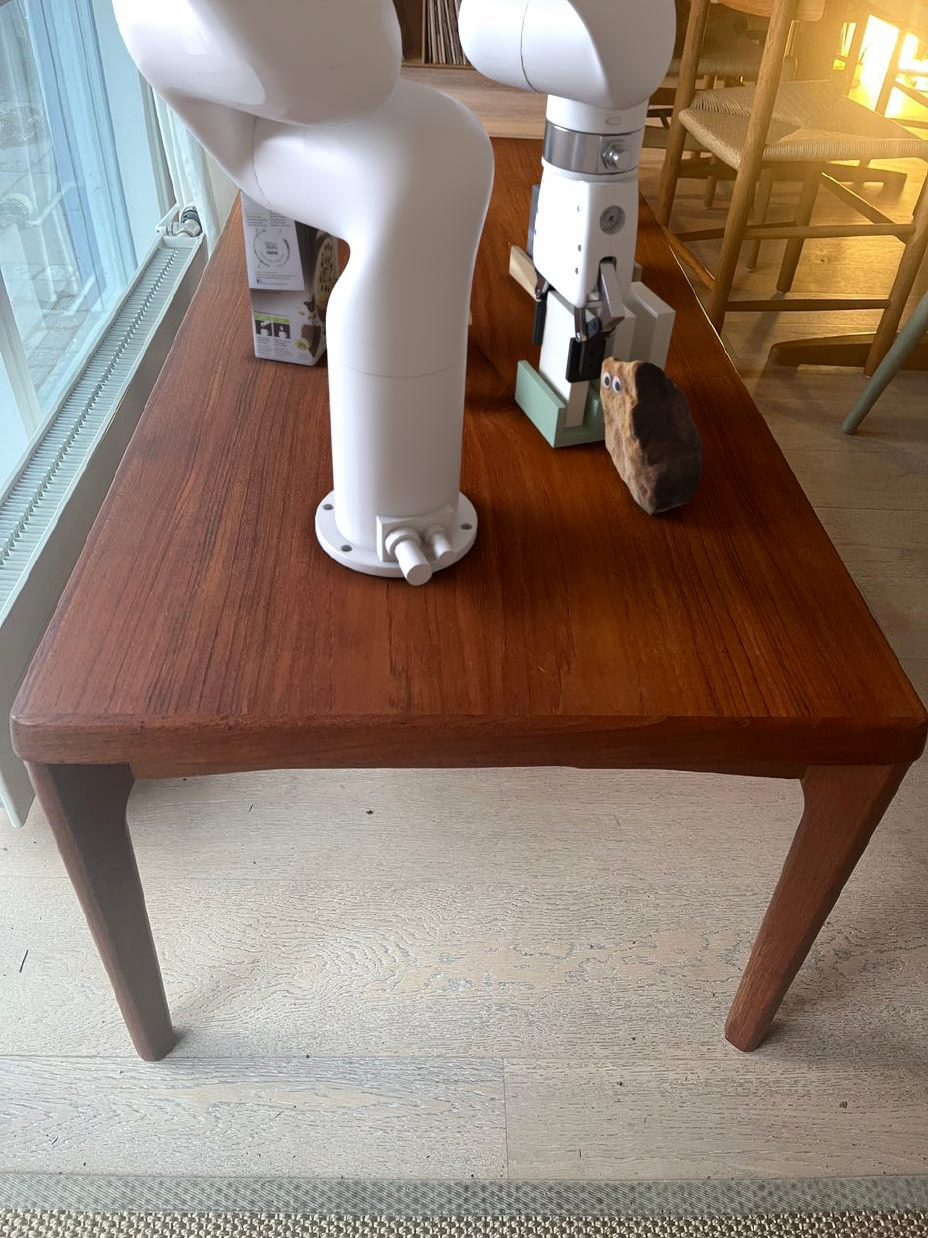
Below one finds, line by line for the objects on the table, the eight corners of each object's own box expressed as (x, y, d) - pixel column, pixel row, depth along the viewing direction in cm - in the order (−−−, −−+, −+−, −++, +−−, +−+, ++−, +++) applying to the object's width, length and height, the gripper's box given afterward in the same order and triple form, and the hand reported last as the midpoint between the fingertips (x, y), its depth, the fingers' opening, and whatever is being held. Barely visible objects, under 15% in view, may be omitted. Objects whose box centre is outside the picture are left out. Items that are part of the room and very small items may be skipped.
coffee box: (316, 367, 96) (306, 197, 85) (253, 358, 96) (236, 189, 86) (343, 327, 102) (337, 165, 92) (284, 319, 103) (271, 158, 92)
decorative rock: (582, 446, 87) (599, 333, 80) (643, 439, 89) (665, 327, 82) (639, 524, 79) (664, 406, 72) (705, 514, 80) (736, 397, 73)
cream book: (553, 391, 92) (566, 288, 86) (582, 425, 88) (599, 320, 81) (535, 393, 92) (547, 290, 85) (564, 428, 87) (579, 322, 81)
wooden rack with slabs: (601, 270, 117) (615, 174, 110) (637, 301, 111) (654, 201, 104) (508, 280, 114) (516, 181, 106) (539, 312, 108) (549, 210, 100)
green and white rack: (628, 383, 96) (647, 274, 89) (673, 428, 90) (697, 316, 83) (514, 399, 93) (525, 287, 86) (553, 448, 87) (568, 332, 79)
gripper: (691, 179, 70) (648, 402, 82) (587, 111, 82) (563, 314, 94) (597, 187, 68) (567, 415, 80) (504, 115, 80) (490, 323, 92)
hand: (565, 358), depth 87 cm, fingers closed on cream book, 6 cm apart
